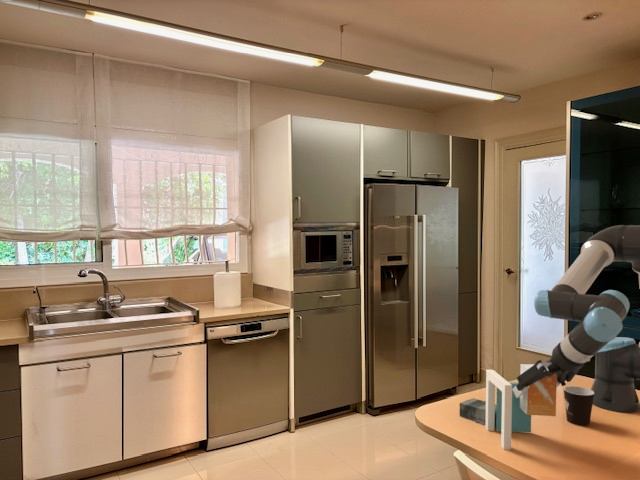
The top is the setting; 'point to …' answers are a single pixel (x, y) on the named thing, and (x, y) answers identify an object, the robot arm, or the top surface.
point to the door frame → (506, 388)
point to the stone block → (475, 411)
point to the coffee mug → (578, 405)
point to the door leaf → (513, 414)
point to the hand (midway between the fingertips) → (530, 392)
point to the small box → (539, 395)
